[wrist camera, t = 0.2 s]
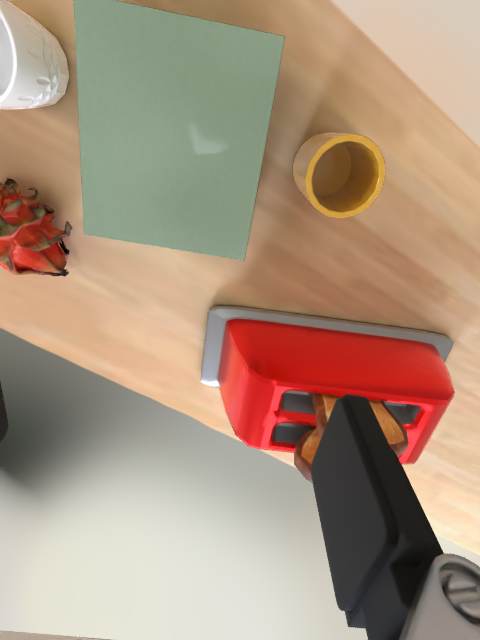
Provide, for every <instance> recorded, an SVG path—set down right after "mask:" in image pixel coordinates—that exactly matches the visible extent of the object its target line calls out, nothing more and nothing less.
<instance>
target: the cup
mask: <svg viewBox="0 0 480 640" xmlns="http://www.w3.org/2000/svg"><path fill="white" fill-rule="evenodd" d="M293 178H294V181H295V184H296V186H297V187H298V189H299V190H300V192H301V193H302V194H303V195H304V196H305V197H306V199H307V200H308V201H309V202H310V203H311V204H312V205H313V206H314V207H315V208H316V209H317V210H318V211H320V212H321V213H323V214H324V215H326V216H329V217H334V218H346V217H350V216H355V215H357V214H358V213H360V212H362V211H363V210H365V209H366V208H368V207H369V206H370V205H371V204H372V202H373V201H374V200H375V198H376V197H377V196H378V195H379V193H380V191H381V188H382V185H383V182H384V179H385V161H384V158H383V156H382V154H381V152H380V150H379V148H378V146H377V145H376V144H375V143H373V142H372V141H371V140H369V139H368V138H367V137H365V136H361V135H356V134H351V133H330V132H326V133H322V134H318V135H315V136H313V137H311V138H309V139H308V140H307V141H306V142H304V143H303V145H302V146H301V147H300V148H299V150H298V152H297V153H296V156H295V158H294V162H293Z"/></svg>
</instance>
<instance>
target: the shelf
mask: <svg viewBox="0 0 480 640" xmlns="http://www.w3.org/2000/svg"><path fill="white" fill-rule="evenodd" d="M74 21H75V43H76V66H77V89H78V112H79V134H80V157H81V180H82V202H83V225H84V235H90V236H96V237H103V238H109V239H115V240H121V241H127V242H133V243H139V244H145V245H152V246H158V247H164V248H170V249H176V250H182V251H188V252H194V253H200V254H207V255H213V256H219V257H225V258H231V259H237V260H243V261H244V260H245V255H246V249H247V244H248V238H249V233H250V227H251V222H252V216H253V211H254V205H255V200H256V194H257V189H258V183H259V178H260V172H261V167H262V161H263V156H264V150H265V145H266V139H267V134H268V128H269V123H270V117H271V112H272V106H273V101H274V95H275V90H276V84H277V79H278V73H279V68H280V62H281V57H282V51H283V46H284V40H285V36H281V35H276V34H272V33H267V32H262V31H258V30H253V29H248V28H243V27H239V26H234V25H229V24H225V23H220V22H215V21H211V20H206V19H201V18H197V17H192V16H187V15H182V14H178V13H173V12H168V11H164V10H159V9H154V8H150V7H145V6H140V5H135V4H131V3H126V2H121V1H117V0H74Z"/></svg>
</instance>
